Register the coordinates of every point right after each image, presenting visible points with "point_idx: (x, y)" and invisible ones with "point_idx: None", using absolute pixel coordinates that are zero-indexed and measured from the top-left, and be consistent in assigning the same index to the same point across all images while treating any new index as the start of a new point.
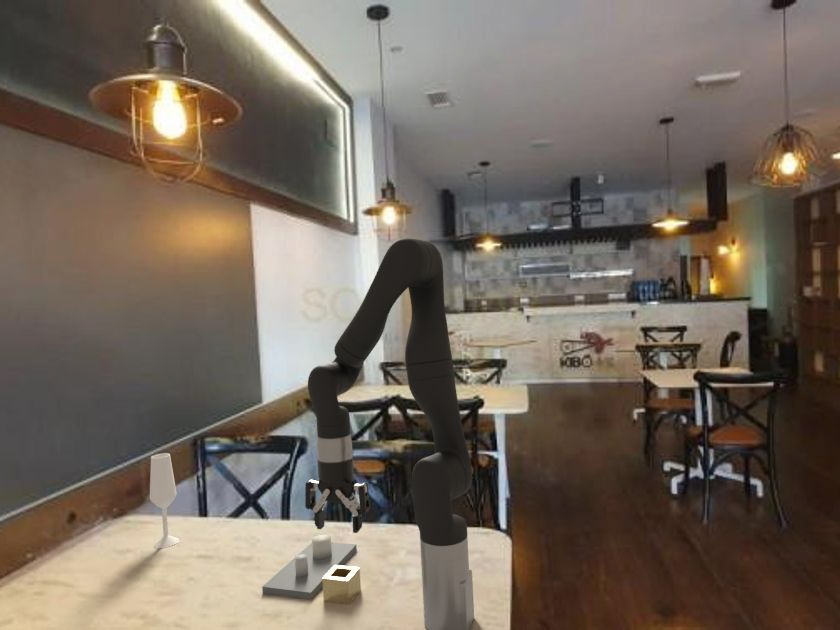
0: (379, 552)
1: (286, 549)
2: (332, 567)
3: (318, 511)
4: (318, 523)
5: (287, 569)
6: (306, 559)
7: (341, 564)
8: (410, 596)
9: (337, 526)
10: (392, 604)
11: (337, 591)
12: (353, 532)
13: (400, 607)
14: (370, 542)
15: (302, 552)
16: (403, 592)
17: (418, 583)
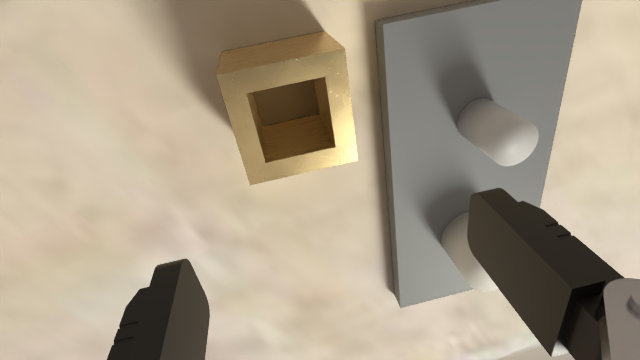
0: (329, 311)
1: (584, 222)
2: (355, 141)
3: (592, 307)
4: (511, 214)
5: (538, 122)
6: (487, 145)
7: (391, 225)
8: (67, 182)
9: (498, 345)
10: (79, 117)
11: (269, 52)
12: (183, 259)
13: (36, 113)
14: (380, 332)
15: None
16: (108, 191)
17: (108, 247)
